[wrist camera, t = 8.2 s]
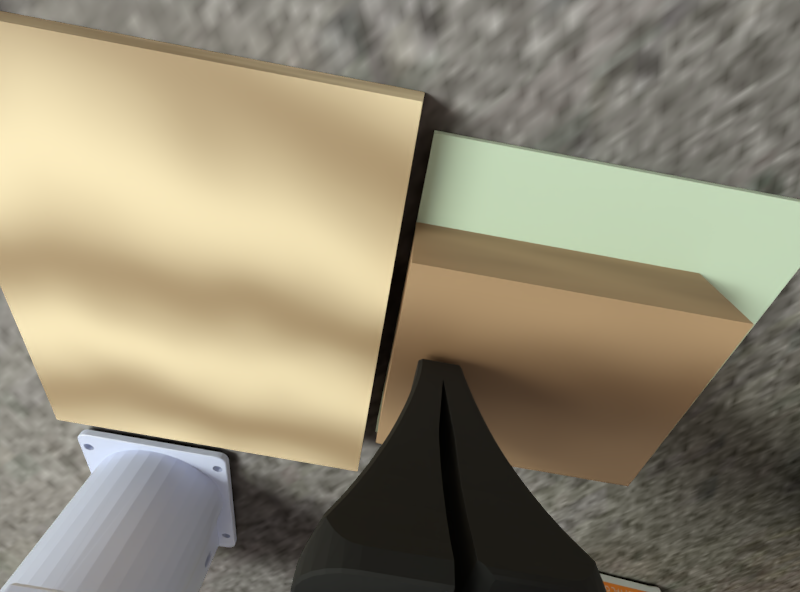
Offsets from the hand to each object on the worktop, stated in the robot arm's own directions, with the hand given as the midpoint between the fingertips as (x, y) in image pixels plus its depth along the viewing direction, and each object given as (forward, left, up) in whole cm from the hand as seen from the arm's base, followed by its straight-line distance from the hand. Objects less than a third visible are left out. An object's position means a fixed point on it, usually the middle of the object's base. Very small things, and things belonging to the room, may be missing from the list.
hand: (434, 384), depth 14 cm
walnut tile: (0, -4, -3) cm, 5 cm away
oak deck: (0, +9, -4) cm, 10 cm away
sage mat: (0, -5, -4) cm, 6 cm away
